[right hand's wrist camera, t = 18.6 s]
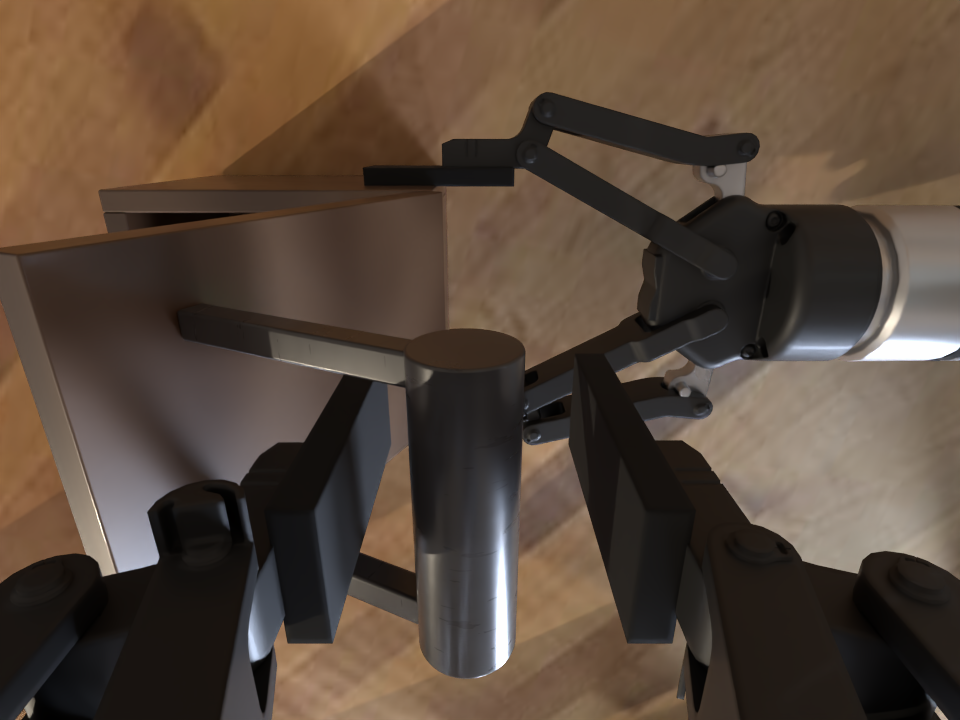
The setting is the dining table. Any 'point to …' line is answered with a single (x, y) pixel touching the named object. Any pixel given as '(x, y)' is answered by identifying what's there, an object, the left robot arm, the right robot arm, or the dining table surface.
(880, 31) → the dining table surface
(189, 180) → the chest
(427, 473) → the lid
